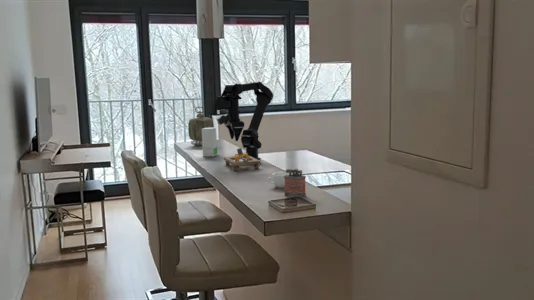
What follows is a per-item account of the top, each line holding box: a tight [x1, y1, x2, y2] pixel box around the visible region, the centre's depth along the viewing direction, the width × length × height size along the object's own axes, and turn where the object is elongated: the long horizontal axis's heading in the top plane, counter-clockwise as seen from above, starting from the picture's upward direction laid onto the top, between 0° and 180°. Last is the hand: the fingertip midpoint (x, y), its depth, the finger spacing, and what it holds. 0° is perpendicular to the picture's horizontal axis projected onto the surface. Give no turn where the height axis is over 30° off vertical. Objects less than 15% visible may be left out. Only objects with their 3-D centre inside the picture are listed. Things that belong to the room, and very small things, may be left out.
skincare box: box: [201, 126, 218, 158], centre depth 283 cm, size 8×7×16 cm
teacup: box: [266, 171, 293, 189], centre depth 201 cm, size 10×8×5 cm
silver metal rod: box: [234, 153, 248, 162], centre depth 246 cm, size 16×2×1 cm, turn 18°
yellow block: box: [233, 147, 250, 162], centre depth 246 cm, size 4×6×8 cm, turn 108°
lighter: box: [284, 168, 307, 198], centre depth 186 cm, size 8×3×10 cm, turn 71°
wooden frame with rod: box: [223, 155, 261, 172], centre depth 247 cm, size 20×13×4 cm, turn 18°
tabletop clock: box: [187, 106, 215, 146], centre depth 323 cm, size 14×9×25 cm, turn 66°
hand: (234, 139), depth 255 cm, fingers open, 9 cm apart
